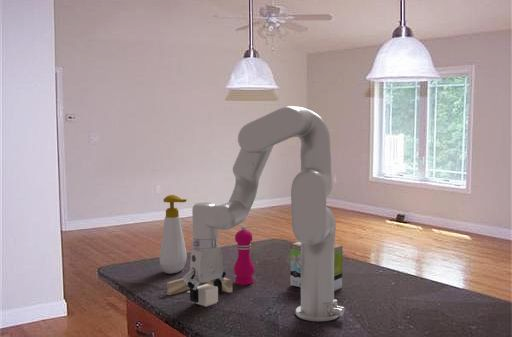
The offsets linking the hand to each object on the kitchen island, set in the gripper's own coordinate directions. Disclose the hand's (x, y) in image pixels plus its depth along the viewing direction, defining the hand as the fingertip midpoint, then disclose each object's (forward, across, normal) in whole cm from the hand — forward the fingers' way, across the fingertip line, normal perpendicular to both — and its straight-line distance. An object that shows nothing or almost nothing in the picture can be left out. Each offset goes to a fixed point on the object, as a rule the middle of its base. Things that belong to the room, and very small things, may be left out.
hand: (206, 297), depth 167 cm
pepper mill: (+2, +23, +6) cm, 24 cm away
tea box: (+2, +35, -16) cm, 39 cm away
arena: (+2, +5, +8) cm, 10 cm away
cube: (+2, 0, 0) cm, 2 cm away
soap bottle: (+2, +16, +35) cm, 39 cm away
